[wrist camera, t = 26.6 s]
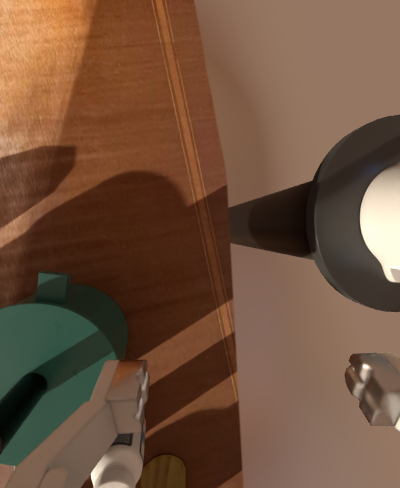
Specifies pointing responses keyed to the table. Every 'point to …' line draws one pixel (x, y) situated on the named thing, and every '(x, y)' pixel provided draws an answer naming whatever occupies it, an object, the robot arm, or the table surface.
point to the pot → (84, 305)
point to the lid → (45, 371)
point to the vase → (164, 473)
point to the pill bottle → (121, 462)
